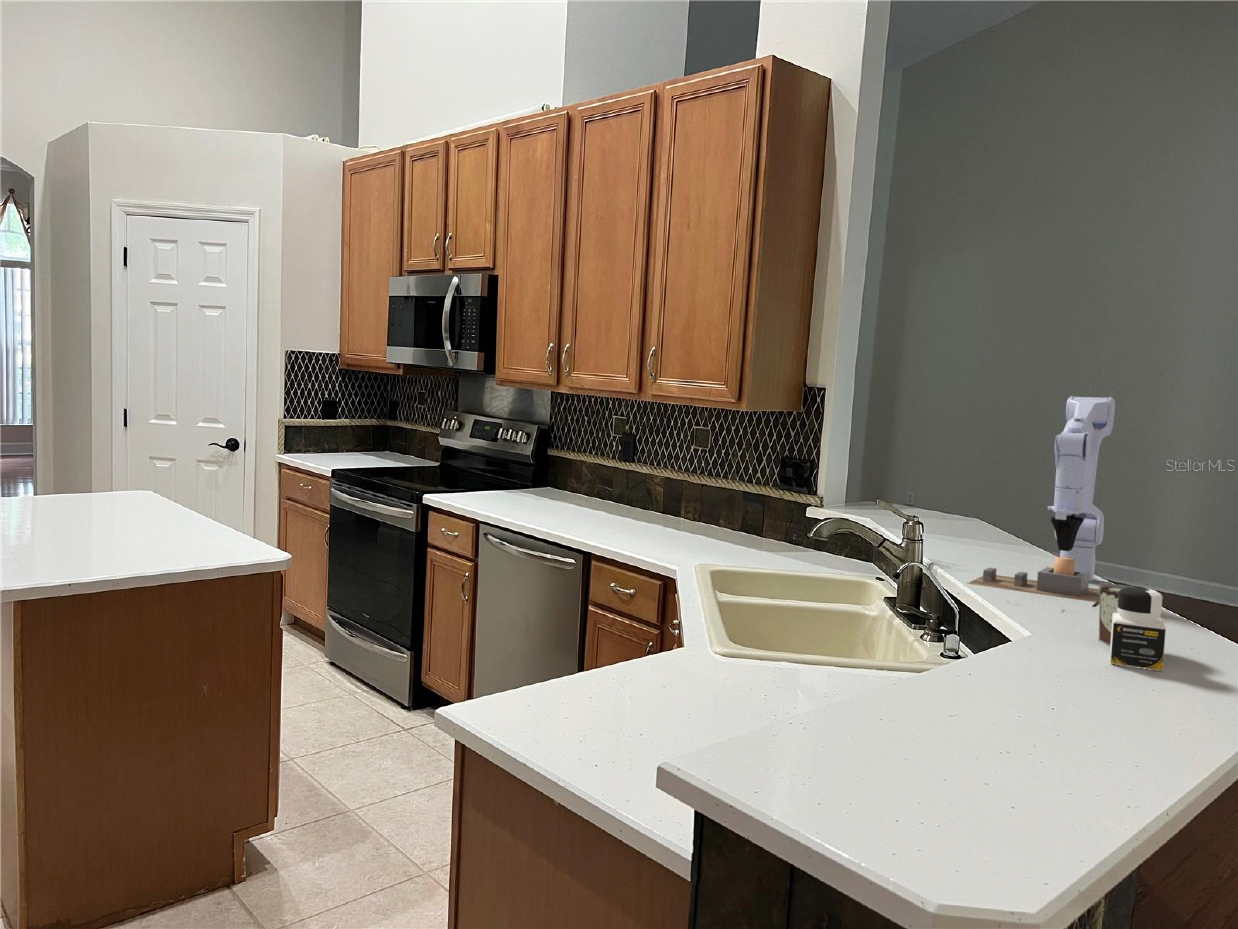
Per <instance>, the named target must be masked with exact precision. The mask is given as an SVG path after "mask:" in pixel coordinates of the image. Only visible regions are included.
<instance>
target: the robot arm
mask: <svg viewBox="0 0 1238 929" xmlns="http://www.w3.org/2000/svg"><path fill="white" fill-rule="evenodd" d="M1065 406H1066V407H1065V419H1066V424H1065V426H1064V429H1063V430H1062V431H1061V432H1060V434H1059V433H1058V434H1057V435H1056V436H1055V440H1054V455H1055V457H1054V458H1055V460H1054V461H1055V462H1054V463H1055V464H1054V465H1055V466H1056V471H1055V483H1054V484H1055V485H1054V497H1053V500H1054V501H1053V505H1048V506H1047V511H1053V512H1055V516H1050V522H1051V523H1052V526H1053V528H1054V538H1055V540H1056V542H1057V548H1058V551H1060V554H1059V557H1066V558H1072V559H1075V566H1074V571H1081V572H1089V582H1092V581H1099V579H1098V578H1095V566H1096V547H1097V546H1099V545H1100V544H1102V542H1103V538H1104V532H1105V530H1104V528H1105V522H1104V520H1105V516H1104V514H1103V511H1102V510H1100V508H1098V507H1097V506H1096V505H1094V504H1093V502H1094V501H1093V500H1094V496H1095V495H1094V493H1095V485H1096V484H1095V483H1096V476H1097V469H1098V468H1097V467H1098V461H1099V460H1098V459H1099V451H1100V448H1101V443H1102V441H1103V439H1104V438H1106V437H1108V436H1110V435H1111V434H1112V431H1113V426H1114V419H1115V414H1116V412H1115V410H1116V401H1115V399H1114V398H1113V397H1112V396H1109V397H1096V396H1095V397H1093V396H1091V397H1090V396H1089V397H1087V396H1083V397H1082V396H1074V395H1071V396H1069V397H1068V398H1067V401H1066V405H1065Z"/></svg>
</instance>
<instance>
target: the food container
mask: <svg viewBox="0 0 1238 929" xmlns="http://www.w3.org/2000/svg"><path fill="white" fill-rule="evenodd" d="M1126 587H1132V586H1129V585H1124V584H1116V583H1115V584H1114V583H1106V582H1105V583H1102V582H1099V586H1098V588H1097V589H1098V594H1100V599H1099V605H1098V606H1099V607H1098V608H1099V610H1098V615H1099V616H1098V642H1100V643H1102V644H1103V645H1106V646H1107V647H1110V643H1111V629H1112V615H1113V613H1119V612H1117V609H1118V595H1119V591H1120V590H1121V589H1123V588H1126Z"/></svg>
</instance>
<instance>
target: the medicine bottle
mask: <svg viewBox="0 0 1238 929" xmlns="http://www.w3.org/2000/svg"><path fill="white" fill-rule="evenodd" d="M1162 608H1163V595H1162V594H1161V593H1160V592H1158V591H1157V590H1154V589H1150V588H1145V587H1138V586H1137V587H1136V586H1131V587H1126V588H1123V589H1121V590H1120V591H1119V595H1118V609H1117V612H1119V613H1113V615H1112V629H1111V643H1110V646H1109V660H1110V661H1109V664H1110V665H1112V664H1115V665H1114V666H1117V665H1122V666H1121V667H1124V666H1128V667H1127V668H1131V667H1140V668H1146V669H1151V670H1156V671H1155V672H1158V671H1161V672H1163V669H1164V656H1165V645H1166V630H1167V629H1166V625H1165V622H1164V620H1163V618H1161V617H1162ZM1151 670H1150V671H1151Z"/></svg>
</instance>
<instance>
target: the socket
mask: <svg viewBox="0 0 1238 929" xmlns="http://www.w3.org/2000/svg"><path fill="white" fill-rule="evenodd" d="M1036 581H1037V590H1038V591H1045V592H1052V593H1059V594H1066V595H1073V596H1082V595H1083V594H1084V593H1086V592H1087V591H1088V588H1090V587H1089V585H1090V581H1089V572H1081V571H1074V576H1073V575H1065V574H1057V573H1054V567H1049V566H1048V567H1044V568H1043V569H1041V570H1039V571H1037V578H1036Z"/></svg>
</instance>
